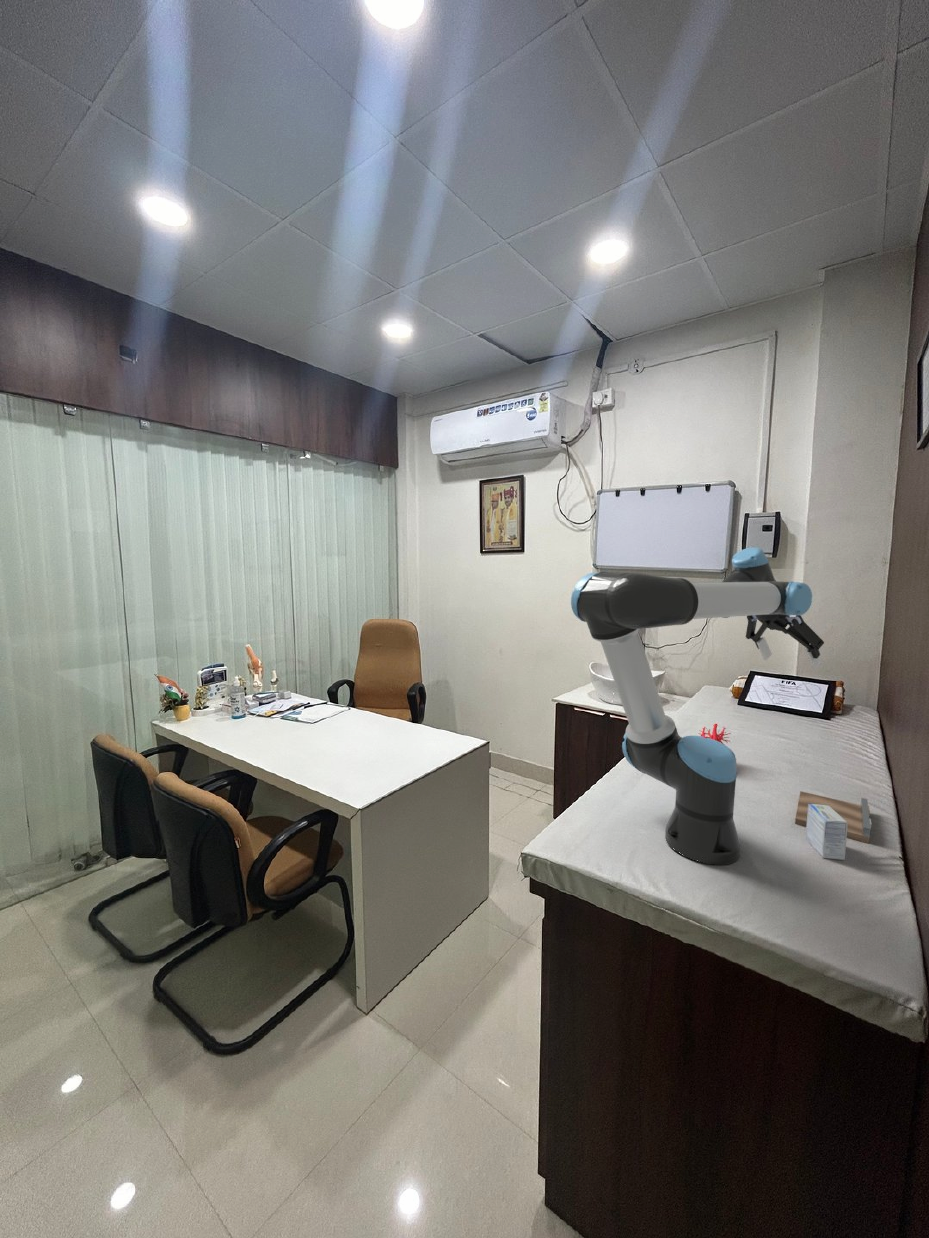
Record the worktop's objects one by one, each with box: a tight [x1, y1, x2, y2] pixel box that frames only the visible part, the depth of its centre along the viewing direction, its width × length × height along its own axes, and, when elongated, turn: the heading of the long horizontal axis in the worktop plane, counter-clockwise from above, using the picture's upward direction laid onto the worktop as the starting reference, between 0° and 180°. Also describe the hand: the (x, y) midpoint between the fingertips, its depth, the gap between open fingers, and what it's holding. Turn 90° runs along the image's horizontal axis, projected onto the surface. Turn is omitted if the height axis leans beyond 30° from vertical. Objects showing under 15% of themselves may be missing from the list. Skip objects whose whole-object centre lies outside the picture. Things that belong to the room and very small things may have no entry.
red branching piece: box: [698, 723, 732, 745], centre depth 155 cm, size 10×12×12 cm
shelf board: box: [794, 791, 872, 844], centre depth 123 cm, size 18×14×4 cm
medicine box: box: [805, 804, 848, 861], centre depth 109 cm, size 8×4×9 cm, turn 168°
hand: (791, 661), depth 139 cm, fingers open, 13 cm apart
